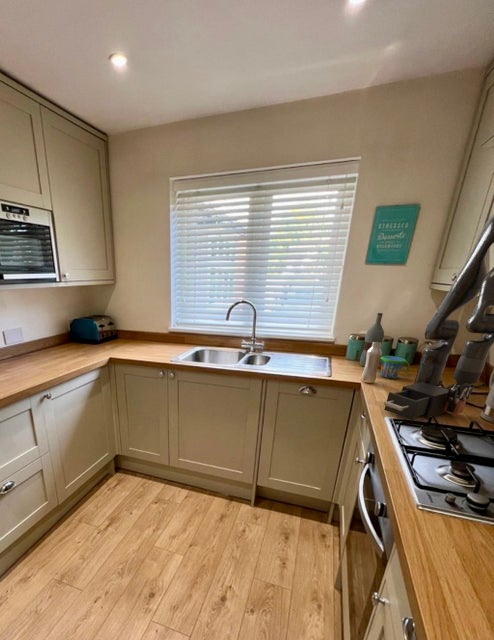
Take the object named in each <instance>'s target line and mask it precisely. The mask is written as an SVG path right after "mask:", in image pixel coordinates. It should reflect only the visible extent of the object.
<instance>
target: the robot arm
mask: <svg viewBox="0 0 494 640" xmlns="http://www.w3.org/2000/svg"><path fill="white" fill-rule="evenodd" d="M493 244H494V214H492V215H491V216H490V217H489V218H488V220H487V221H486V223H485V224H484V226H483V227H482V229H481V231H480V233H479V235H478V238H477V239H476V242H475V243H474V245H473V248H472V250H471V252H470V254H469V256H468V258H467V259H466V261H465V263H464V265H463V266H462V268H461V269H460V270H459V271H460V272H459V273H458V274H457V276H456V277H455V280H454V281H453V283H452V285H451V286H450V288H449V290H448V292H447V294H446V296H445V297H444V298H443V300H442V302H441V304H440V305H439V307H438V308H437V309H436V311H435V312H434V314H433V315H432V316H431V317H430V319H429V321H428V323H427V324H426V326H425V329H424V337H425V338H426V339H427V340H431V341H439V342H438V343H436V344H434V345H430V346H426V347H425V348H423V352H422V355H421V357H420V361H419V364H418V368H417V371H416V374H415V378H414V381H413V384H416V383H421V382H424V383H427V384H431V385H434V386H438V387H442V388H445V389H449V391H448V396H447V401H448V402H449V404H448V407H447V410H446V411H447V412H448V413H450V414H453V412H454V410H455V407H456V405H457V402H458V401H459V400H461V401H464V402H466V400H469V398H470V395H472V393H473V390H474V389H475V388H476V389H477V388H481V387H482V386H483V387H485V385H486V384H485V382H481V383H480V384H479V385H475V384H478V382H479V380H480V377H481V375H482V373H483V371H484V368H485V365H486V360H487V358H488V355H489V352H490V350H491V348H492V346H493V345H494V313H493V312H486V311H487V310H488V309H489V308H494V266H493V267H492V268H491V269H490V270H489V272H488V266H487V255H488V252H489V250H490V248H491V246H492V245H493ZM476 297H478V299H477V300H476V303H475V305H474V306H473V307H474V308H473V310H472V312H471V313H470V314H469V316H468V318H467V320H466V322H465V329H466V331H467V332H468V333H471V334H479V335H480V334H482V337H480V338H474V339H473V338H472V339H468V340H466V342H465V344H464V345H463V346H464V347H463V350H462V352H461V355H460V357H459V359H458V361H457V364H456V366H455V369H454V372H453V375H452V380H454V381H455V383H452V384H451V385H448V386H445V385H444V383H443V382H444V380H442V377H443V374H444V370H445V368H446V364H447V361H448V358H449V355H450V354H451V353H452V350H453V347H454V345H455V342H456V340H457V337H458V335H459V333H460V329H461V328H460V327H461V324H460V321H459V320H458V319H456V318H449V317H450V316H451V315H452V314H453V313H455V312H456V311H458V310H459V309H461V308H463V307H465V306H466V305H467V304H469V303H471V302H473V300H475V299H476ZM452 399H453V400H452Z"/></svg>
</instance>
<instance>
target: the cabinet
mask: <svg viewBox="0 0 494 640" xmlns="http://www.w3.org/2000/svg"><path fill="white" fill-rule="evenodd" d="M445 388H446V387H445ZM445 388H442V387H441V386H434V385H431V384H427V383H424V382H421V383H416V384H414V383H413V384H408V385H404V386H402V389H401V391H404V390H410V391H413V392H416V393H419V394H422V395H426V396H429V397H432V399H431V402H430V405H429V408H428V411H427V414H424V415H420V416H419V417H422V418H425V419H429V417H430V416H432V417H430V418H433V417H436V416H440V415H443V414H445V413H447V412H448V411H445V410H444V408H445V405H446V402H447V396H448V391H449V389H445Z"/></svg>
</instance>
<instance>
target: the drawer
mask: <svg viewBox="0 0 494 640" xmlns="http://www.w3.org/2000/svg"><path fill="white" fill-rule="evenodd" d="M431 399H432V397H429V396H426V395H422V394H419V393H416V392H413V391H410V390H404V391H402V390H400V391H396V392H392V391H389V392H388V394H387V399H386V400H385V401H383V406H384V409H383V410H384V411H386V412H388V413H391V414H394V415H397V416H399V417H402V418H404V419H406V420H409V421H413V420H414V418H417V417H421V416H420V415H424V414H427V411H428V408H429V405H430V402H431Z"/></svg>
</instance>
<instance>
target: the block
mask: <svg viewBox="0 0 494 640" xmlns="http://www.w3.org/2000/svg"><path fill="white" fill-rule="evenodd" d="M452 400H453V399H452ZM448 404H449V402H448V401H447V402H446V405H445V408H444V410H445V411H446V410H447V407H448ZM466 404H467V401H461V400H459V401H458V402H457V405H456V407H455V410H454V412H453V413H452V414H454V415H460V414H462V413H463V412H464V410H465V406H466Z"/></svg>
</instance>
